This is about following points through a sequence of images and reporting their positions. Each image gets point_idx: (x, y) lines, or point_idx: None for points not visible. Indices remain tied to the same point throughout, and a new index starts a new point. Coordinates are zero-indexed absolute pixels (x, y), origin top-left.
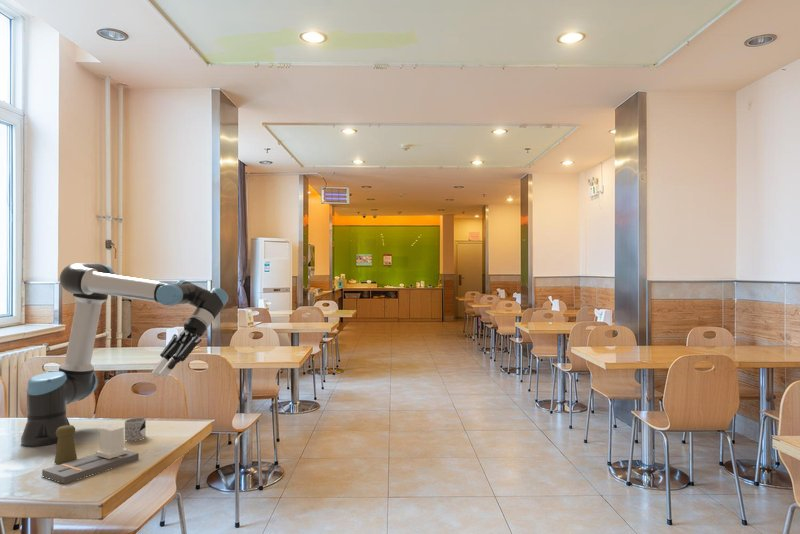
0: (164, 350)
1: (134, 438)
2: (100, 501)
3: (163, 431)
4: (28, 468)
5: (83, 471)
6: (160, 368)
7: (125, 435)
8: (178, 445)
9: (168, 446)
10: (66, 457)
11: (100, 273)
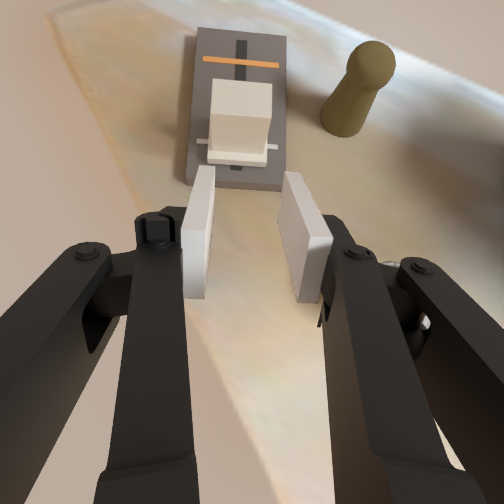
0: (454, 305)
1: None
2: (47, 14)
3: None
4: None
5: (195, 60)
6: (288, 224)
7: None
8: (187, 310)
9: (207, 291)
10: (327, 100)
11: None
